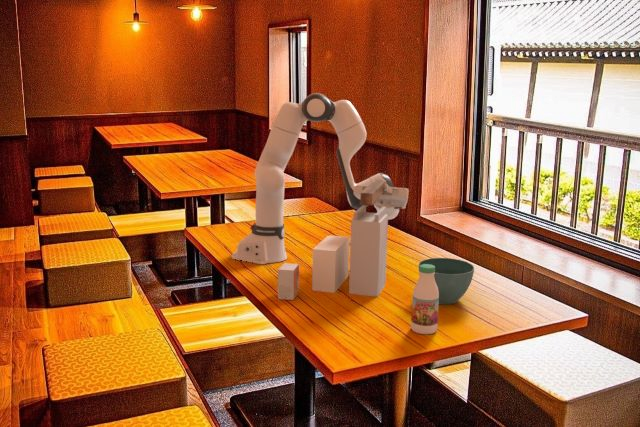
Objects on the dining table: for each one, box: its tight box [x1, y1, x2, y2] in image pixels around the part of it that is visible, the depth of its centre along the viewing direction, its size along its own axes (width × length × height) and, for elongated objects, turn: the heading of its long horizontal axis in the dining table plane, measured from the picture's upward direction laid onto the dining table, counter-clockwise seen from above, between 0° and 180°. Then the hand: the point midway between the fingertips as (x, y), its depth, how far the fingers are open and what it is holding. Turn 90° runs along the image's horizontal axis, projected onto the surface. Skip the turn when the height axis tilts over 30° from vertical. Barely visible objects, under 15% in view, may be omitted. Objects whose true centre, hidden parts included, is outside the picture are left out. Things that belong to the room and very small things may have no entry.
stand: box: [348, 205, 389, 298], centre depth 230 cm, size 10×14×28 cm
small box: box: [277, 262, 300, 301], centre depth 223 cm, size 8×6×10 cm
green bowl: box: [418, 257, 475, 305], centre depth 221 cm, size 18×18×12 cm
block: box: [311, 234, 350, 294], centre depth 237 cm, size 8×20×15 cm, turn 164°
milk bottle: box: [410, 264, 439, 335], centre depth 195 cm, size 8×8×20 cm
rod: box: [360, 179, 386, 206], centre depth 230 cm, size 4×24×4 cm, turn 163°
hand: (378, 186), depth 237 cm, fingers closed on rod, 4 cm apart
